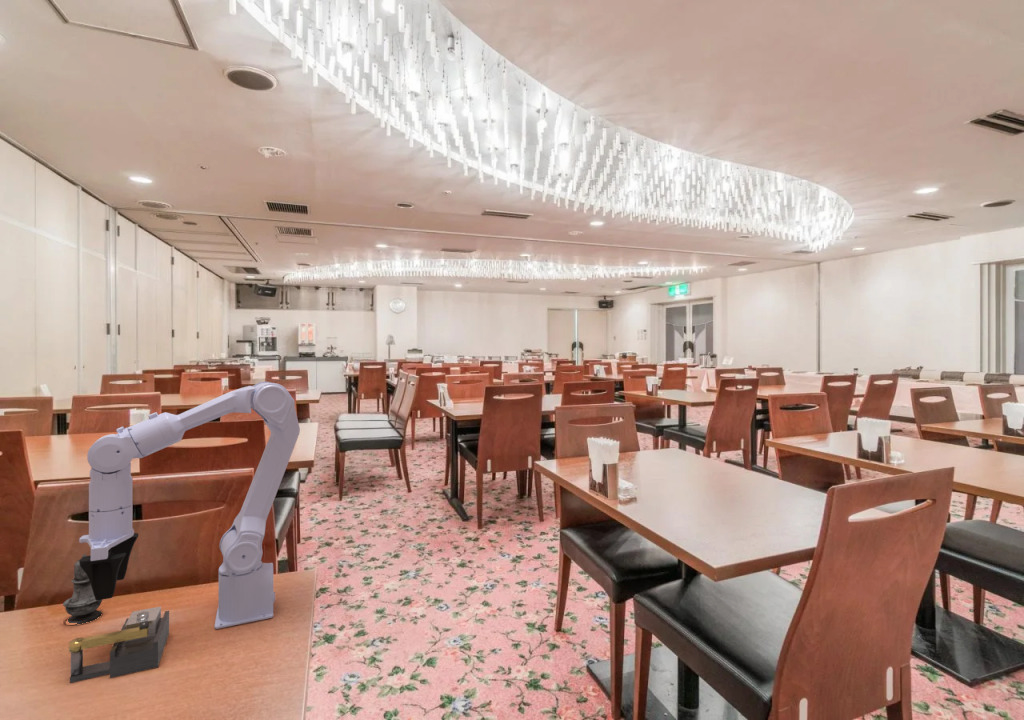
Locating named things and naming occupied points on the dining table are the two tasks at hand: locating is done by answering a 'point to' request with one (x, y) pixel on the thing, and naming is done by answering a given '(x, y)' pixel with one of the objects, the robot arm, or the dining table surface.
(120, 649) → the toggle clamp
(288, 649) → the dining table surface
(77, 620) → the grey tall flared piece
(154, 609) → the knobbed drawer block
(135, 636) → the lever
